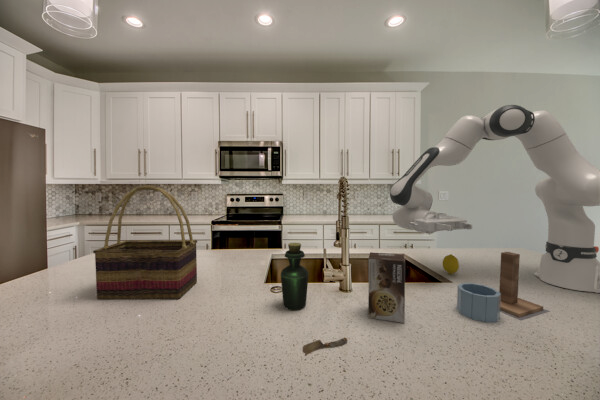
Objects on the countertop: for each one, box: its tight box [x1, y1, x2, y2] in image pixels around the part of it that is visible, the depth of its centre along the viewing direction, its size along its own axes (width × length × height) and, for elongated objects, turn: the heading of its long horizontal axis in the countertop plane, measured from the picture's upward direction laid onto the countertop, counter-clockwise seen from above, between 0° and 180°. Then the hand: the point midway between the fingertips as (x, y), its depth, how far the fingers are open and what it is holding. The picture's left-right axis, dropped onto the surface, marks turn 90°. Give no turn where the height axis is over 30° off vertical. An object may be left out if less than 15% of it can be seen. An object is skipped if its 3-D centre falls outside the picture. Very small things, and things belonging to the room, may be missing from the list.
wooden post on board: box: [497, 251, 544, 318], centre depth 72 cm, size 11×11×15 cm
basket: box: [92, 184, 198, 300], centre depth 82 cm, size 26×15×35 cm, turn 90°
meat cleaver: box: [302, 337, 348, 357], centre depth 54 cm, size 12×1×5 cm
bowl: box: [456, 282, 501, 323], centre depth 67 cm, size 9×9×7 cm
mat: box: [500, 308, 551, 321], centre depth 72 cm, size 13×13×1 cm
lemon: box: [442, 254, 460, 275], centre depth 98 cm, size 6×6×8 cm
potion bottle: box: [280, 242, 310, 311], centre depth 72 cm, size 8×8×18 cm
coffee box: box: [367, 252, 406, 324], centre depth 67 cm, size 9×6×16 cm
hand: (461, 227), depth 85 cm, fingers open, 8 cm apart
